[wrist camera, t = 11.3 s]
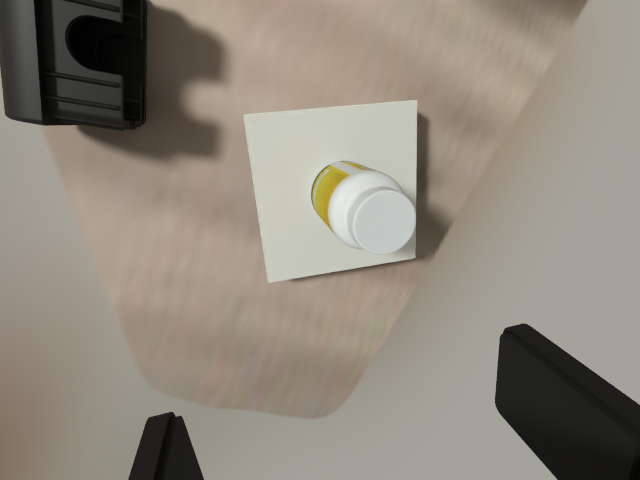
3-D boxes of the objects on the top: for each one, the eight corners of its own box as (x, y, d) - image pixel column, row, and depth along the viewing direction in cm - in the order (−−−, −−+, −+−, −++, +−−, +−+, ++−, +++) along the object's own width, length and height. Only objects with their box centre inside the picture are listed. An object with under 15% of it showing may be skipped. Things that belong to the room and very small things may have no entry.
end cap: (31, -39, 23) (-46, -99, 17) (147, -12, 25) (116, -56, 19) (42, 118, 26) (-21, 116, 20) (146, 133, 28) (118, 136, 21)
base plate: (242, 115, 29) (243, 114, 26) (401, 101, 31) (417, 99, 28) (265, 269, 33) (268, 282, 31) (401, 247, 36) (415, 258, 33)
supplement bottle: (318, 231, 30) (350, 277, 21) (302, 169, 28) (330, 191, 19) (376, 213, 31) (432, 250, 22) (364, 152, 29) (421, 165, 20)
